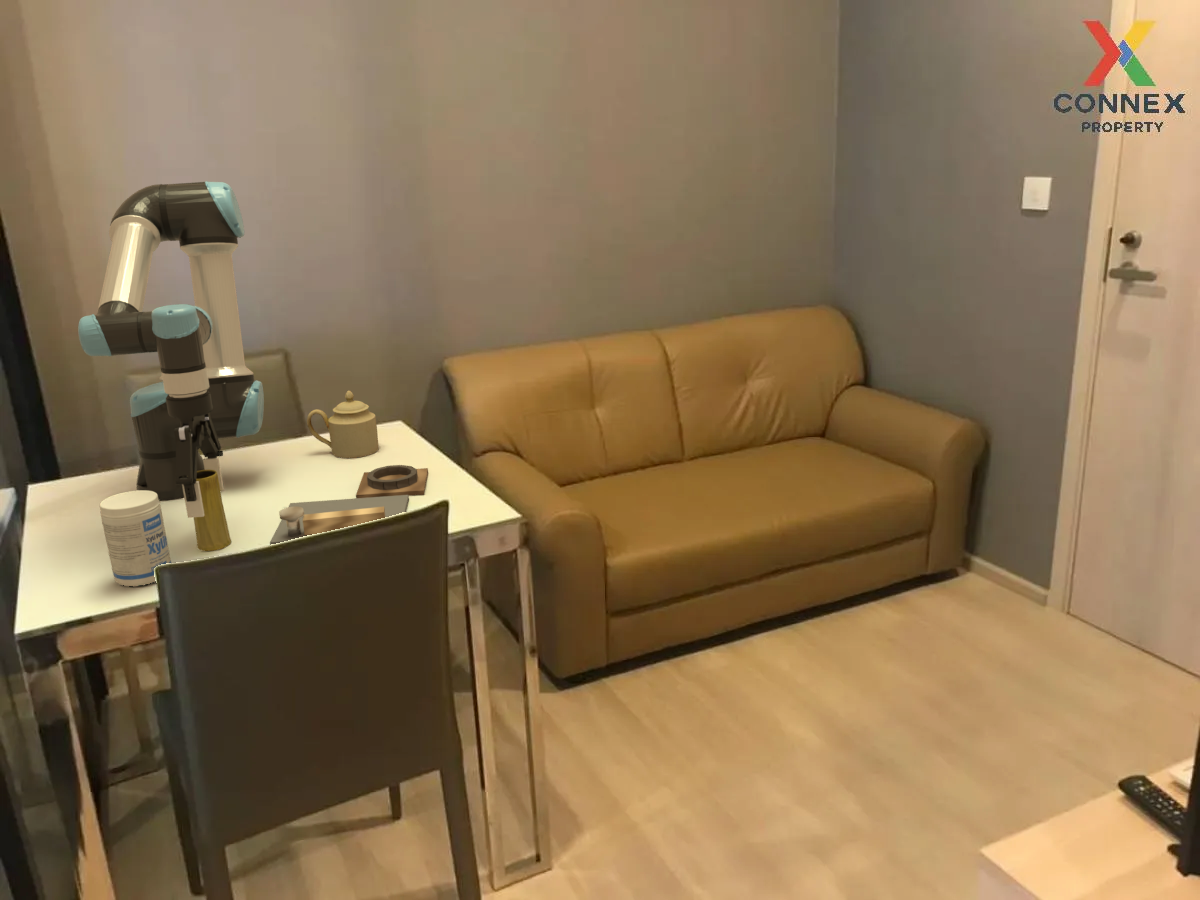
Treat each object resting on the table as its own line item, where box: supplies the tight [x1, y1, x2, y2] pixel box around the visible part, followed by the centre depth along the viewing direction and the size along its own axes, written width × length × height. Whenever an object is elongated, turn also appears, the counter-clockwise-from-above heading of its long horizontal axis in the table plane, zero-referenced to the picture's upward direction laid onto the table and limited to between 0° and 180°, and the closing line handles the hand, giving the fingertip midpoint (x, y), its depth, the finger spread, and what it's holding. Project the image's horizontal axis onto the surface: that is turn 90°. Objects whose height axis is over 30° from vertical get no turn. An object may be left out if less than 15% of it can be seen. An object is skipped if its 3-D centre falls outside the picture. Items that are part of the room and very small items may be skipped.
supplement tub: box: [99, 490, 172, 587], centre depth 175 cm, size 10×10×15 cm
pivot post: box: [286, 518, 301, 537], centre depth 190 cm, size 2×2×4 cm
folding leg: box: [278, 506, 385, 535], centre depth 191 cm, size 19×4×5 cm, turn 101°
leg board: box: [269, 495, 410, 545], centre depth 198 cm, size 24×20×1 cm
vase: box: [187, 470, 232, 552], centre depth 187 cm, size 6×6×14 cm
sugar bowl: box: [306, 390, 380, 459], centre depth 237 cm, size 15×11×15 cm
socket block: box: [355, 464, 429, 498], centre depth 216 cm, size 14×14×3 cm
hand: (206, 503), depth 186 cm, fingers open, 13 cm apart
